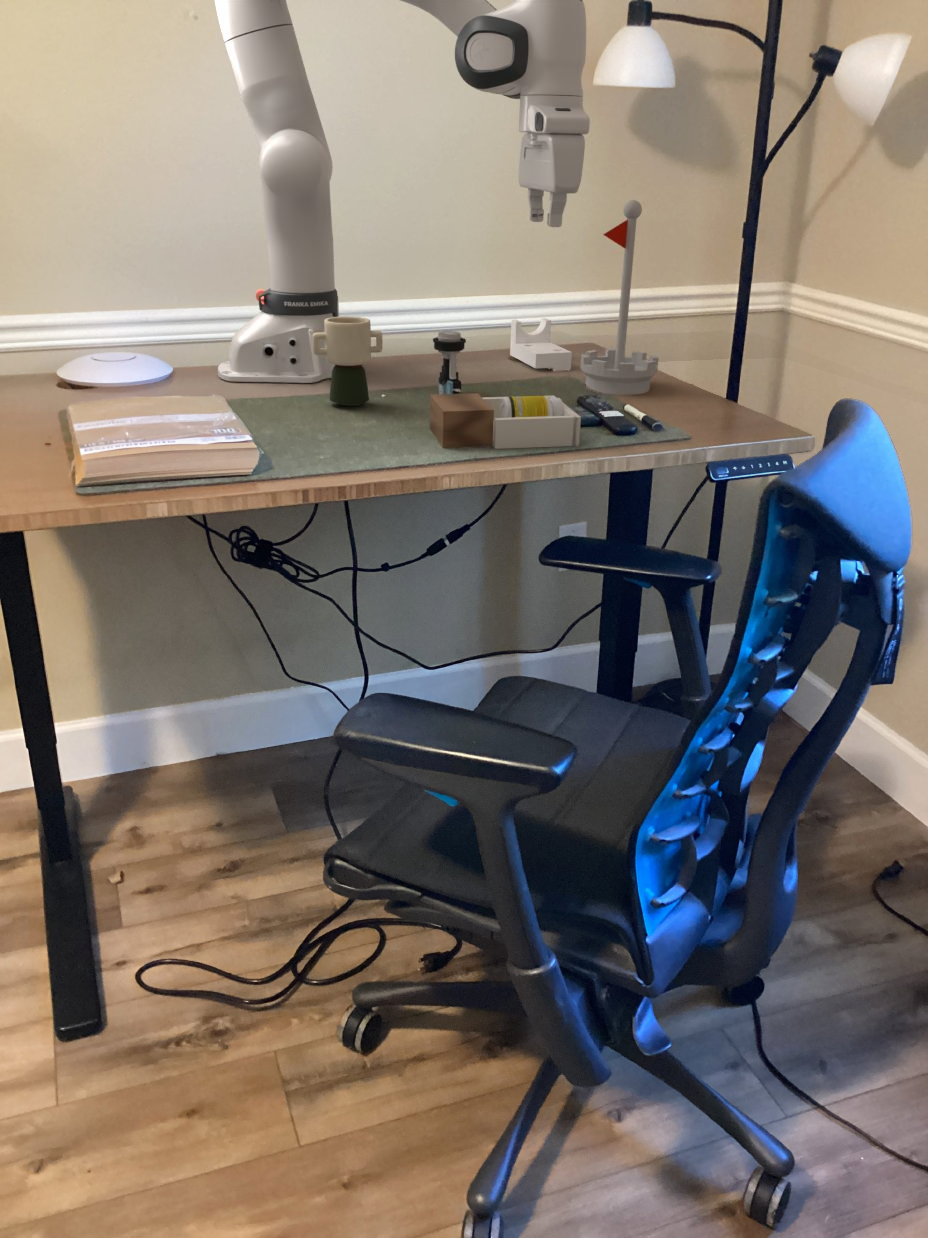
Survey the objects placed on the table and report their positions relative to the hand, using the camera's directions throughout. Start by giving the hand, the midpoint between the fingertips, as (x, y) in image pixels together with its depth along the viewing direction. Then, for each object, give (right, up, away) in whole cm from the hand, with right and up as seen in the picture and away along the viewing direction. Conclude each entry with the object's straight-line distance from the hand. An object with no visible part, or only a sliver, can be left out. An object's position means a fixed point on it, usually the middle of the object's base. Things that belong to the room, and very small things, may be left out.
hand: (545, 224), depth 149 cm
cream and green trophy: (-30, -25, +10) cm, 40 cm away
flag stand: (+15, -18, +26) cm, 35 cm away
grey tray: (-3, -32, -4) cm, 32 cm away
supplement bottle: (-7, -29, -6) cm, 30 cm away
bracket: (+2, -10, +43) cm, 44 cm away
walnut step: (-12, -32, -5) cm, 35 cm away
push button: (-14, -22, +17) cm, 31 cm away
